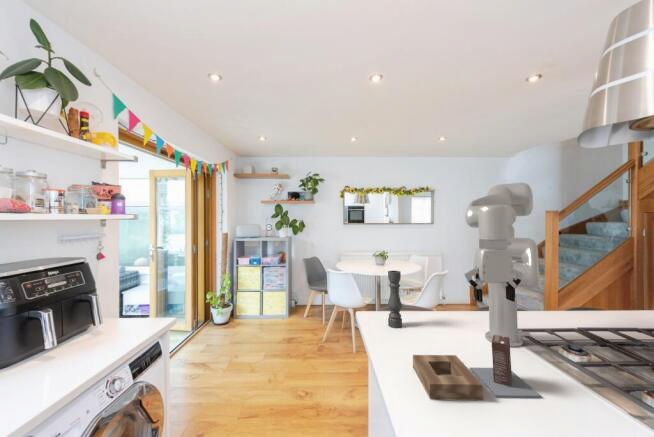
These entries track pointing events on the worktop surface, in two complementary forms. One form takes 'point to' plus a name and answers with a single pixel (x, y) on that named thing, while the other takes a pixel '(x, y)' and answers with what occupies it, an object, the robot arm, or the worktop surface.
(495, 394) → the mat
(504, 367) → the box
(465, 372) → the pocket block
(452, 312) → the worktop surface
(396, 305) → the candle holder
